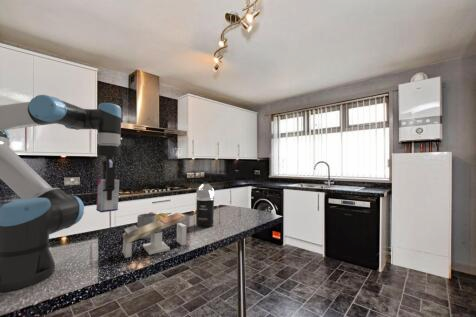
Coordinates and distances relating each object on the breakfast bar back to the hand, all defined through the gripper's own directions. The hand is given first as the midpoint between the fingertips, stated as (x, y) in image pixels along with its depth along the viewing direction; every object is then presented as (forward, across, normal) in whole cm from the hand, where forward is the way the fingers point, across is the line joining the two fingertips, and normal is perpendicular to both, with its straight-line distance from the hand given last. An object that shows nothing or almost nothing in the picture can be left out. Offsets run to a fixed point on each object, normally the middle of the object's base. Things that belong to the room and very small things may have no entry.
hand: (107, 207), depth 81 cm
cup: (+19, +19, -19) cm, 33 cm away
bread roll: (+19, +33, -30) cm, 48 cm away
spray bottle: (+19, +19, -51) cm, 58 cm away
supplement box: (+1, 0, 0) cm, 1 cm away
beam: (+11, 0, -18) cm, 21 cm away
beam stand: (+19, 0, -18) cm, 26 cm away
